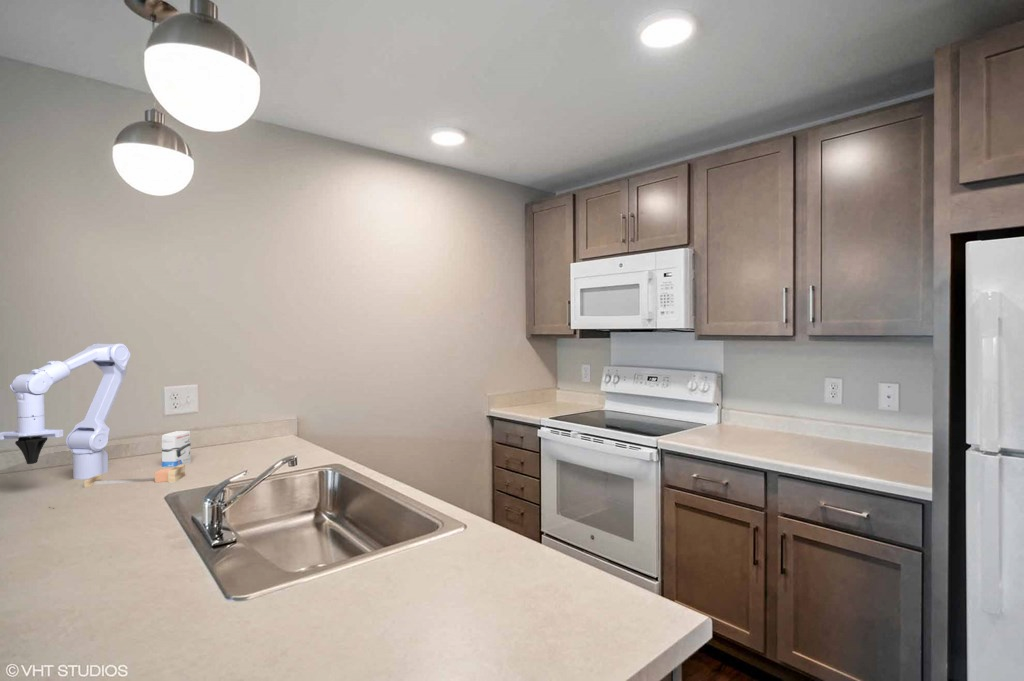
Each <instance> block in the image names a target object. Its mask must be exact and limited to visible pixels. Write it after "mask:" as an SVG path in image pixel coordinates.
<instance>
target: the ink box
mask: <svg viewBox="0 0 1024 681" xmlns="http://www.w3.org/2000/svg"><path fill="white" fill-rule="evenodd" d="M191 444H192V443H191V430H176V431H172V432H171V431H170V432H168V433H164V434H162V435H161V467H165V468H174V467H176V466H178V465H186V464H191V463H192V461H191V460H192V457H191V456H192V455H191V452H192V451H191V449H192V448H191V446H192V445H191Z"/></svg>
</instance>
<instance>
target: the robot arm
mask: <svg viewBox="0 0 1024 681" xmlns="http://www.w3.org/2000/svg"><path fill="white" fill-rule="evenodd" d="M131 356H132V355H131V352H130V351H129V349H128V347H127V346H126V345H125V343H94V344H92V345H89V346H86V348H85V349H84V350H83V349H82V350H81V351H80V352H78V353H76V354H74V355H72V356H70V357H69V358H67V359H65V360H63V361H60V360H50V361H49V360H48V361H47V362H46V364H45V365H44V366H42V367H39V368H38V369H37V368H34V369H32V370H31V371H30V372H29V373H27V374H26V373H25V374H24V373H22V374H19V375H17V376H16V377H15V378H14V379H13V380H12V383H11V384H10V385H9V387H10V390H11V391H12V392H13V393H14V396H15V399H16V416H17V418H16V421H17V426H16V427H17V430H13V431H1V432H0V441H3V440H16V439H17V440H16V441H15V442H14V443H15V445H16V446H17V447H18V448H19V449H20V451H21V452H22V454H23V456H24V460H25V462H26V465H34V464H37V463H38V462H39V461H38V460H39V457H40V454H41V451H42V449H43V447H44V445H45V443H46V442H47V441H48V438H62V437H64V429H50V428H49V429H46V420H45V419H46V418H45V415H46V414H45V393H47V392H48V391H49V389H50V387H51V386H52V385H55V384H57V383H58V382H60V381H63V380H65V379H67V378H68V377H69V376H70V375H71V372H72V371H74V370H76V369H78V368H80V367H83V366H85V365H87V364H89V363H93V364H94V365H96V367H97V368H99V369H100V370H101V371H102V373H103V375H102V377H101V378H102V379H101V380H100V382H99V384H98V388H97V389H96V392H95V395H94V396H93V399H92V401H91V403H90V406H89V408H88V411H87V412H86V415H85V417H84V419H82V421H80V422H78V423H77V424H75V425H74V428H73V429H72V430H71V431H70V432H69V433H68V435H67V436H66V439H65V444H66V447H67V448H68V449H69V450H70V453H72V470H73V471H72V476H73V478H72V479H74V480H88V479H90V478H92V477H94V476H96V475H98V474H102V475H104V474H105V473H107V472H109V454H108V452H107V451H106V450H105V448H106V446H107V445H108V443H109V436H110V435H109V434H110V431H111V428H110V427H109V426H108V425H107V424H106V422H107V420H108V419H109V418H108V417H109V415H110V412H111V411H112V408H113V406H114V403H115V400H116V398H117V397H118V393H119V392H120V389H121V386H122V385H123V382H124V379H125V377H126V374H127V365H128V362H129V360H130V358H131Z"/></svg>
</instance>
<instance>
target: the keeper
mask: <svg viewBox="0 0 1024 681" xmlns="http://www.w3.org/2000/svg"><path fill="white" fill-rule="evenodd" d="M173 468H174V467H165V468H160V469H159V470H157V471H156V472H154V478H155V481H154V483H168V471H169V470H171V469H173Z"/></svg>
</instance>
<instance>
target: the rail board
mask: <svg viewBox="0 0 1024 681" xmlns="http://www.w3.org/2000/svg"><path fill="white" fill-rule="evenodd" d="M185 466H186V464H180V465H178V466H175V467H172V468H173V469H171V470H169V471H168V482H167V483H169V484H172V483H177V482H178V481H180V480H181V479H183V477H185V476H186V470H185V469H186V467H185ZM102 475H103V474H98V475H96V476H94V477H92V478H89V479H85V480H84V481H83V482H84V483H83V484H84V486H83V487H84V489H85V488H90V487H92V486H94V485H108V484H123V483H141V482H142V483H143V482H155V477H140V478H123V479H106V480H105V479H104V480H103V476H102Z"/></svg>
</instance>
